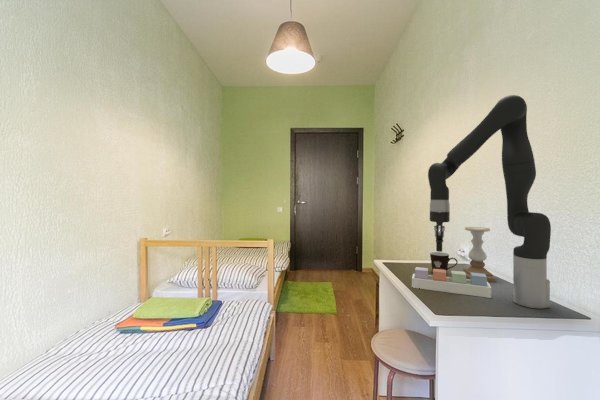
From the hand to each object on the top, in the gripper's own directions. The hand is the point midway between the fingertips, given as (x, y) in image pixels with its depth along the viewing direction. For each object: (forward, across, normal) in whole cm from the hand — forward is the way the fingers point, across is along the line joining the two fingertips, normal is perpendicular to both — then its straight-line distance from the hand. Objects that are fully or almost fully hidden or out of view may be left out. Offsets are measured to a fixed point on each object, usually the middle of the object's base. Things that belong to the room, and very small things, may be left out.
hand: (439, 251), depth 116 cm
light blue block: (+13, 0, +14) cm, 19 cm away
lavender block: (+13, -1, -7) cm, 15 cm away
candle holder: (+16, -24, +17) cm, 33 cm away
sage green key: (+13, 0, +7) cm, 15 cm away
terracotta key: (+13, 0, 0) cm, 13 cm away
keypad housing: (+16, 0, +4) cm, 16 cm away
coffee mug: (+16, -24, +2) cm, 29 cm away
